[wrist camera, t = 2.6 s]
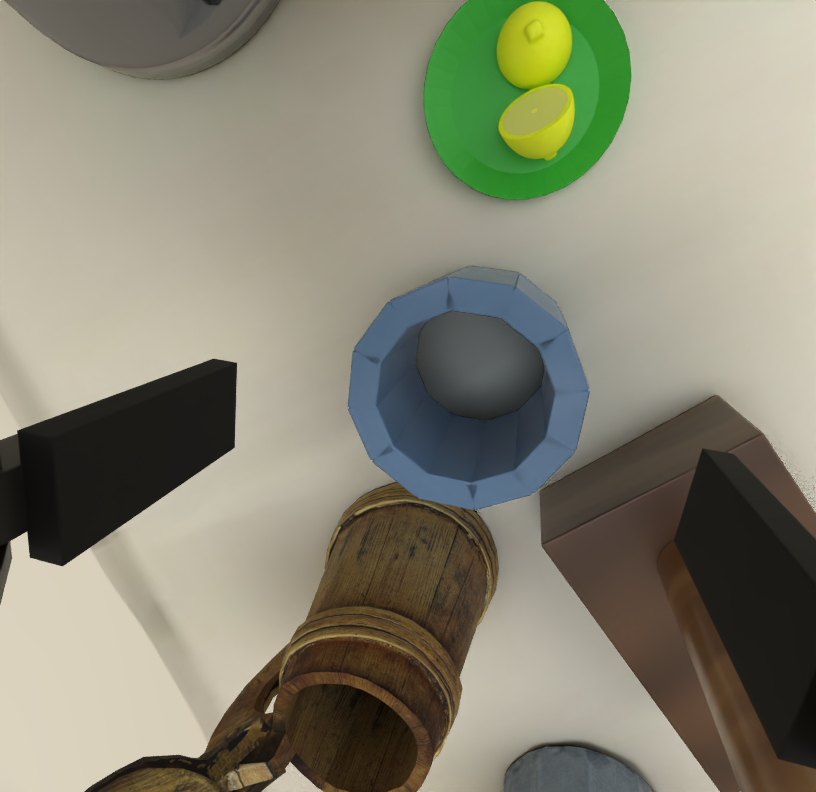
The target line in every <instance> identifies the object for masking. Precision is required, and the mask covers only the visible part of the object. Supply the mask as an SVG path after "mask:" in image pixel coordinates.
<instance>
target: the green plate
mask: <svg viewBox="0 0 816 792" xmlns="http://www.w3.org/2000/svg"><path fill="white" fill-rule="evenodd" d="M630 82H631V66H630V54H629V49H628V46H627V42H626V39H625V35H624V32H623V30H622V28H621V26H620V24H619V22H618V20H617V18H616V16H615V15H614V13H613V11H612V10H611V9H610V8H609V6H608V5H607V4H606V3H605V2H604V1H603V0H469V1H467V2H466V3H465V4H464V5H463V6H461V8H460V9H459V10H458V11H457V12H456V14H455V15H454V16H453V17H452V19H451V20H450V21H449V22H448V23H447V25H446V27H445V28H444V30H443V32H442V34H441V35H440V37H439V39H438V41H437V42H436V44H435V47H434V50H433V53H432V55H431V58H430V61H429V64H428V68H427V73H426V79H425V84H424V111H425V117H426V123H427V129H428V131H429V134H430V137H431V140H432V142H433V145H434V147H435V149H436V151H437V152H438V154H439V156H440V157H441V159H442V161H443V163H444V164H445V165H446V166H447V167H448V168H449V169H450V170H451V172H452V173H453V174H454V175H455V176H456V177H457V178H458V179H460V180H461V181H463V182H464V183H465V184H467V185H468V186H470V187H471V188H473V189H475V190H477V191H479V192H482V193H484V194H486V195H489V196H493V197H498V198H503V199H530V198H534V197H539V196H544V195H547V194H549V193H552V192H554V191H557V190H559V189H561V188H564V187H565V186H567V185H569V184H570V183H572V182H573V181H575V180H576V179H578V178H579V177H581V176H582V175H583V174H584V173H585V172H586V171H587V170H588V169H589V168H591V167H592V166H593V165H594V164H595V163H596V162H597V161H598V160H599V158H600V157H601V156H602V154H603V153H604V152H605V150H606V149H607V148H608V146H609V145H610V144H611V142H612V140H613V138H614V136H615V134H616V132H617V130H618V128H619V126H620V124H621V122H622V120H623V116H624V113H625V110H626V106H627V103H628V99H629V91H630Z"/></svg>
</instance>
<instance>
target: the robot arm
mask: <svg viewBox="0 0 816 792" xmlns="http://www.w3.org/2000/svg"><path fill="white" fill-rule="evenodd" d="M4 1H6V2H7V3H8V4H9V5H10V6H11V7H12V8H14V9H15V10H16V11H17V12H18V13H19V14H20V15H21V16H22V17H24V18H25V19H26V20H27V21H28V22H29V23H30V24H32V25H33V26H34V27H35V28H36V29H37V30H39V31H40V32H41V33H43V34H44V35H45V36H47V37H49V38H50V39H52V40H53V41H54V42H56V43H57V44H59V45H60V46H62V47H63V48H65V49H66V50H68V51H70V52H71V53H73V54H75V55H77V56H79V57H81V58H83V59H86V60H88V61H91V62H93V63H96V64H98V65H101V66H103V67H106V68H108V69H111V70H113V71H116V72H118V73H122V74H125V75H129V76H133V77H139V78H145V79H170V78H178V77H183V76H187V75H191V74H194V73H197V72H200V71H202V70H205V69H207V68H209V67H211V66H213V65H215V64H217V63H219V62H221V61H222V60H224V59H225V58H227V57H228V56H230V55H231V54H233V53H234V52H235V51H236V50H238V49H239V48H240V47H241V46H242V45H244V44H245V43H246V42H247V41H248V40H249V39H250V38H251V37H252V36H253V35H254V34H255V33H256V32H257V31H258V29H259V28H260V27H261V26H262V24H263V23H264V22H265V21H266V19H267V18H268V17H269V16H270V14H271V12H272V11H273V9H274V8H275V6H276V5H277V3H278V2H279V0H4ZM236 378H237V363H234V362H229V361H224V360H218V359H212V360H209V361H206V362H203V363H201V364H198V365H195V366H192V367H190V368H187V369H184V370H182V371H179V372H176V373H173V374H171V375H168V376H165V377H162V378H160V379H157V380H154V381H151V382H149V383H146V384H143V385H141V386H138V387H135V388H132V389H130V390H127V391H124V392H121V393H119V394H116V395H113V396H111V397H108V398H105V399H102V400H100V401H97V402H94V403H91V404H89V405H86V406H83V407H81V408H78V409H75V410H72V411H70V412H67V413H64V414H61V415H59V416H56V417H53V418H51V419H48V420H45V421H42V422H40V423H37V424H34V425H31V426H29V427H26V428H23V429H20V430H18V431H17V433H18V434H16V435H13V436H10V437H8V438H5V439H2V440H0V603H1V599H2V596H3V592H4V587H5V584H6V579H7V575H8V572H9V568H10V564H11V559H12V554H11V545H10V541H11V540H13V539H15V538H16V537H18V536H20V535H21V534H23V533H25V532H27V533H28V542H29V553H30V558H34V559H37V560H41V561H45V562H48V563H53V564H56V565H60V566H64V565H65V564H67V563H68V562H70V561H71V560H72V559H74V558H75V557H77V556H78V555H80V554H81V553H83V552H84V551H85V550H87V549H88V548H90V547H91V546H93V545H94V544H96V543H97V542H99V541H100V540H101V539H103V538H104V537H106V536H107V535H109V534H110V533H112V532H113V531H115V530H116V529H117V528H119V527H120V526H122V525H123V524H125V523H126V522H128V521H129V520H130V519H132V518H133V517H135V516H136V515H138V514H139V513H141V512H142V511H143V510H145V509H146V508H148V507H149V506H151V505H152V504H154V503H155V502H156V501H158V500H159V499H161V498H162V497H164V496H165V495H167V494H168V493H169V492H171V491H172V490H174V489H175V488H177V487H178V486H180V485H181V484H182V483H184V482H185V481H187V480H188V479H190V478H191V477H193V476H194V475H196V474H197V473H198V472H200V471H201V470H203V469H204V468H206V467H207V466H209V465H210V464H211V463H213V462H214V461H216V460H217V459H219V458H220V457H222V456H223V455H224V454H226V453H227V452H229V451H230V450H232V449H233V448H235V413H236ZM674 542H675V544H676V547H677V549H678V551H679V553H680V555H681V557H682V559H683V561H684V563H685V565H686V567H687V570H688V572H689V574H690V576H691V578H692V580H693V582H694V584H695V586H696V588H697V591H698V593H699V595H700V597H701V599H702V601H703V603H704V605H705V607H706V609H707V611H708V614H709V616H710V618H711V620H712V622H713V624H714V626H715V628H716V630H717V632H718V635H719V637H720V639H721V641H722V643H723V645H724V647H725V649H726V651H727V653H728V655H729V658H730V660H731V662H732V664H733V666H734V668H735V670H736V672H737V674H738V676H739V679H740V681H741V683H742V685H743V687H744V689H745V691H746V693H747V695H748V697H749V699H750V702H751V704H752V706H753V708H754V710H755V712H756V714H757V716H758V718H759V720H760V722H761V725H762V727H763V729H764V731H765V733H766V735H767V737H768V739H769V741H770V743H771V746H772V748H773V750H774V752H775V754H776V756H777V758H778V759H780V760H784V761H787V762H791V763H795V764H798V765H802V766H806V767H810V768H813V769H816V539H815V538H814V537H813V536H812V535H811V534H810V533H809V531H808V530H807V529H806V528H805V527H804V526H803V525H802V524H801V523H800V522H799V521H798V520H797V519H796V518H795V517H794V516H793V515H792V514H791V513H790V512H789V511H788V510H787V509H786V507H785V506H784V505H783V504H782V503H781V502H780V501H779V500H778V499H777V498H776V497H775V496H774V495H773V494H772V493H771V492H770V491H769V490H768V489H767V488H766V487H765V486H764V485H763V484H762V482H761V481H760V480H759V479H758V478H757V477H756V476H755V475H754V474H753V473H752V472H751V471H750V470H749V469H748V468H747V467H746V466H745V465H744V464H743V463H742V462H741V461H740V460H739V458H738V457H737V456H736V455H735V454H732V453H726V452H721V451H715V450H710V449H704V448H702V451H701V454H700V457H699V461H698V464H697V467H696V470H695V474H694V477H693V480H692V483H691V487H690V490H689V493H688V496H687V500H686V503H685V506H684V509H683V513H682V516H681V519H680V522H679V525H678V529H677V532H676V535H675V538H674Z"/></svg>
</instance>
